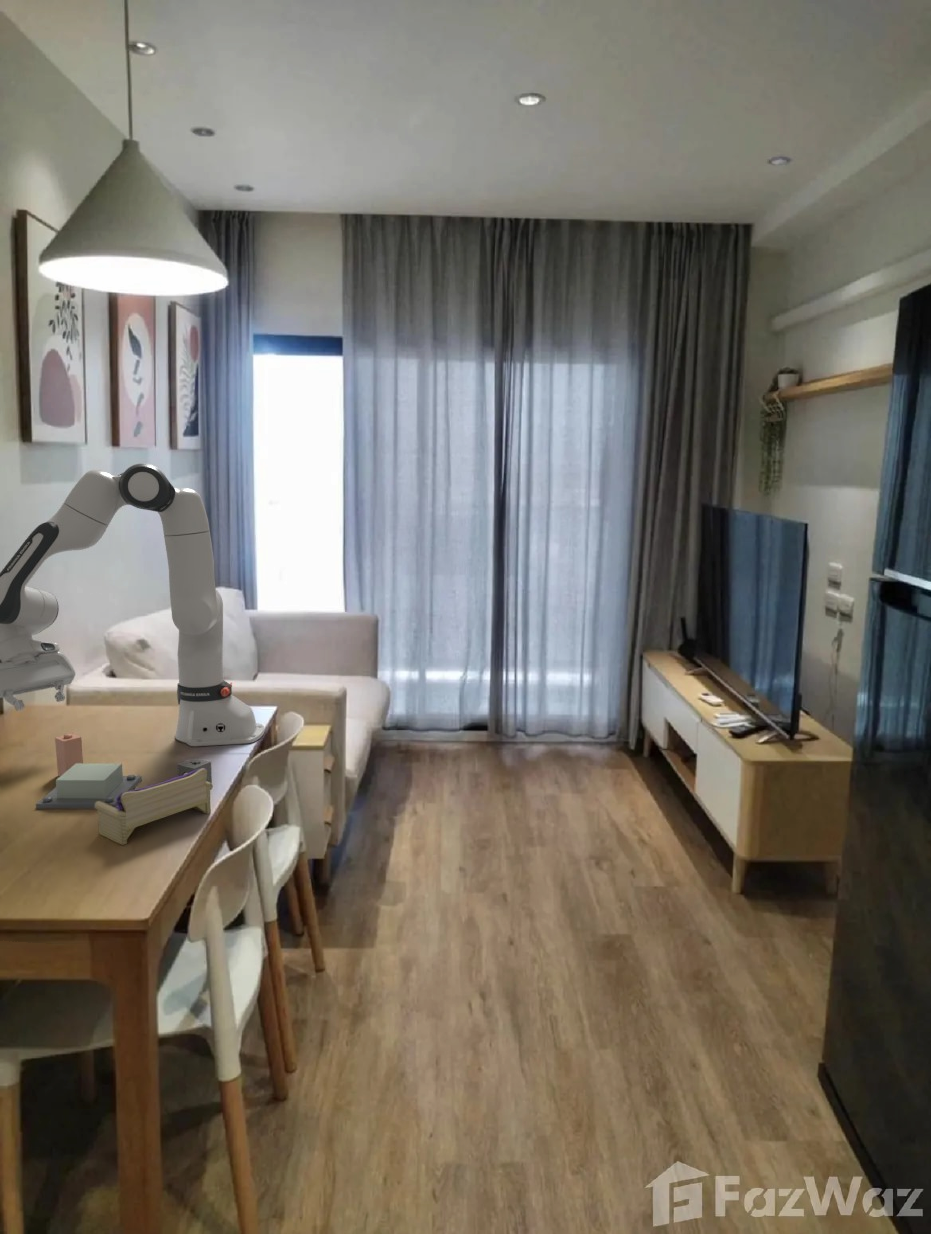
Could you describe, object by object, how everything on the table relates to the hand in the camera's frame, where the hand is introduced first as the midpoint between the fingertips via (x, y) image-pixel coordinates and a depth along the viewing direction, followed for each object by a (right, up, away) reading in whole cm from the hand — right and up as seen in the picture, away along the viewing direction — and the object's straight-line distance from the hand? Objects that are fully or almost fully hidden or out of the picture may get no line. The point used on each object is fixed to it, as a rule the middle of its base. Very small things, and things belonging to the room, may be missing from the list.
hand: (41, 704), depth 200 cm
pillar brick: (+9, -16, -5) cm, 19 cm away
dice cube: (+39, -17, -9) cm, 43 cm away
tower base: (+18, -18, -15) cm, 30 cm away
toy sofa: (+38, -21, -29) cm, 52 cm away
